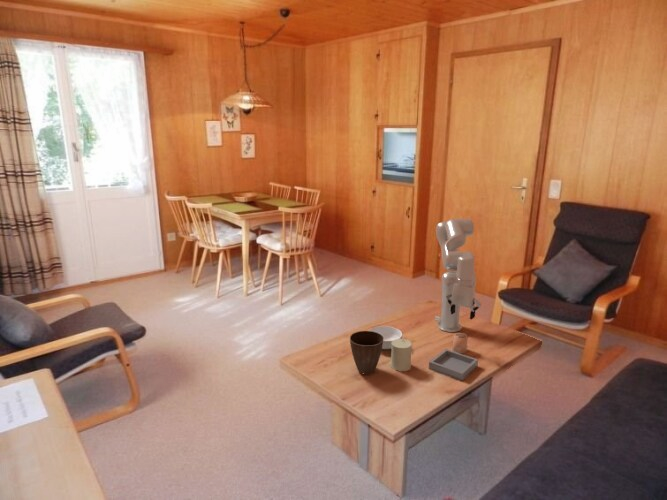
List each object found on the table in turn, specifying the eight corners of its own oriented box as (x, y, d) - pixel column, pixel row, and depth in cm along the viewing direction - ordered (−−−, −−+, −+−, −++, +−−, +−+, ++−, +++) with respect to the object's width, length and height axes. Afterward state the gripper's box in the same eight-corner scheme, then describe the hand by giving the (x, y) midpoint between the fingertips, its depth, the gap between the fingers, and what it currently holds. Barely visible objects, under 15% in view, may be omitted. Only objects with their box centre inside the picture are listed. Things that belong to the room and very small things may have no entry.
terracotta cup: (450, 351, 220) (451, 335, 218) (456, 346, 225) (457, 331, 223) (462, 355, 216) (464, 339, 214) (468, 350, 221) (469, 335, 219)
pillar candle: (412, 363, 209) (413, 339, 206) (409, 372, 201) (410, 348, 198) (392, 359, 212) (393, 336, 209) (388, 369, 204) (389, 345, 201)
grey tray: (428, 368, 204) (429, 361, 203) (445, 355, 216) (445, 348, 215) (461, 381, 194) (462, 373, 193) (477, 366, 206) (478, 359, 205)
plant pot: (344, 365, 208) (344, 333, 203) (373, 359, 213) (374, 328, 209) (358, 382, 194) (358, 348, 190) (388, 375, 199) (389, 342, 195)
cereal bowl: (363, 350, 222) (363, 337, 220) (373, 336, 237) (373, 323, 235) (397, 356, 216) (397, 342, 214) (405, 341, 231) (405, 328, 229)
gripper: (444, 280, 214) (442, 313, 218) (479, 287, 203) (476, 323, 207) (451, 276, 219) (449, 309, 224) (485, 283, 209) (483, 318, 213)
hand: (462, 315), depth 216 cm, fingers open, 9 cm apart
